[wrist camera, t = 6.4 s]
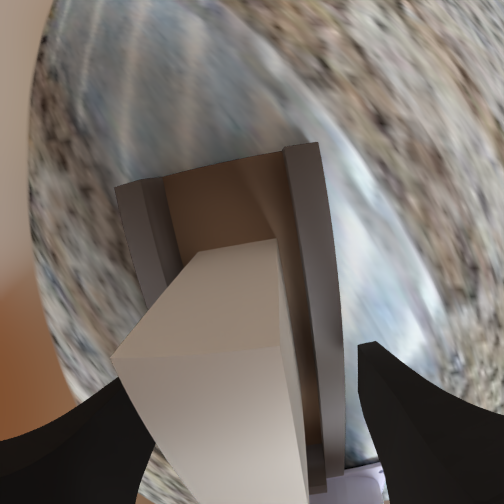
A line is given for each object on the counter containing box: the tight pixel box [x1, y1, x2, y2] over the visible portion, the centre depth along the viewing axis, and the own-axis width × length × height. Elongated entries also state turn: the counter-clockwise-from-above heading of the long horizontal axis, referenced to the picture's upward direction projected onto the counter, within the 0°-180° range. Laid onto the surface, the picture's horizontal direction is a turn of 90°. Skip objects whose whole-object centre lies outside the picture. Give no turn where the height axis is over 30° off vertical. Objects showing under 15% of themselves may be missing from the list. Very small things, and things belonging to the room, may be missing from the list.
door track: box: [114, 142, 345, 495], centre depth 12 cm, size 16×7×4 cm, turn 11°
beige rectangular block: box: [110, 238, 309, 504], centre depth 9 cm, size 3×7×7 cm, turn 11°
